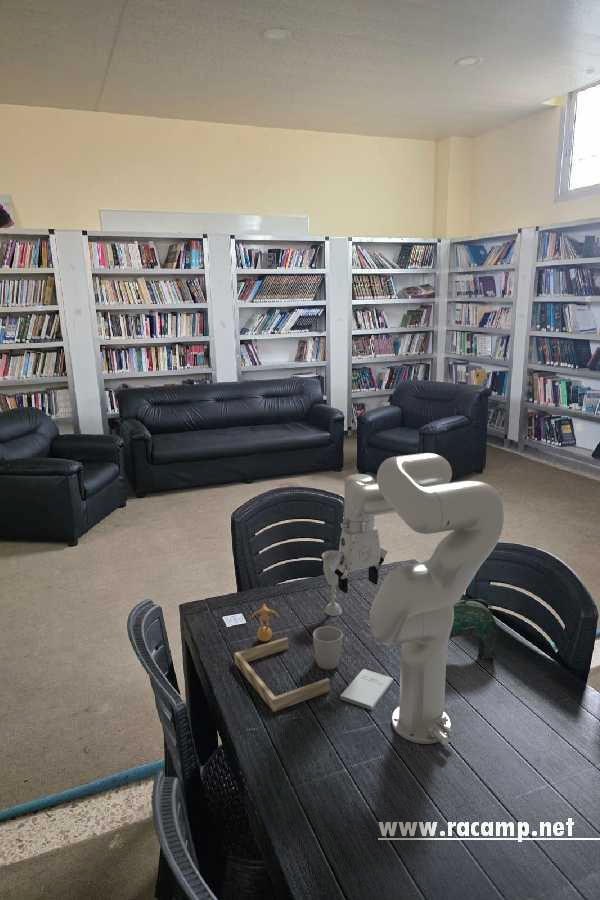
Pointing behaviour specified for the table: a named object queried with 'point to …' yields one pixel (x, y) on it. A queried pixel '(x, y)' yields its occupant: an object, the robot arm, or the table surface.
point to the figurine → (264, 631)
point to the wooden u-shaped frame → (262, 689)
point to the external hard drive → (367, 689)
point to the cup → (327, 646)
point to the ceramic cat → (476, 624)
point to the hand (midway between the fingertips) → (358, 586)
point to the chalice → (331, 581)
